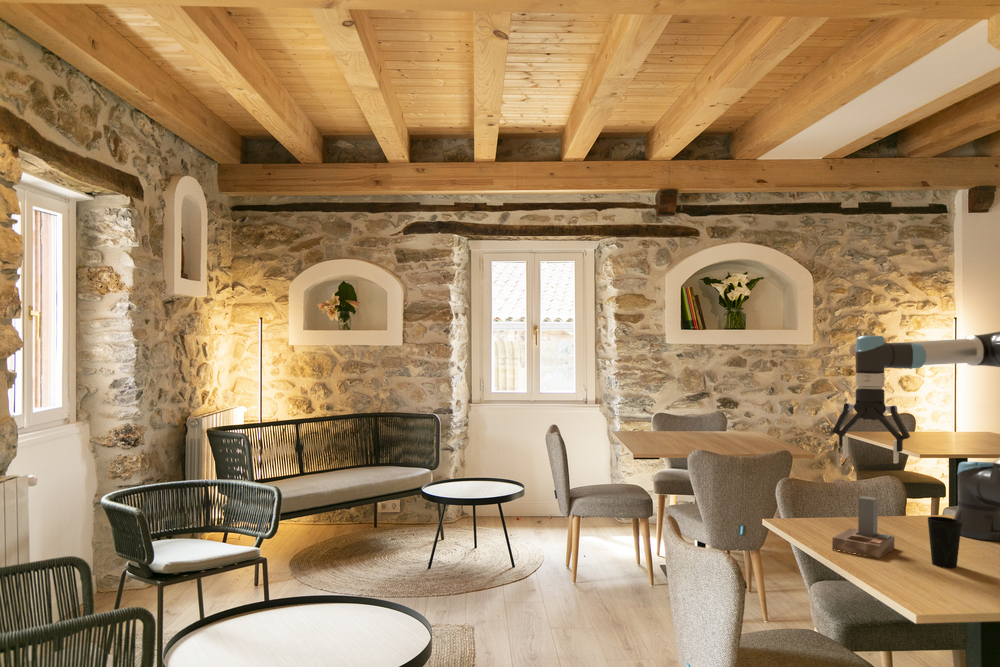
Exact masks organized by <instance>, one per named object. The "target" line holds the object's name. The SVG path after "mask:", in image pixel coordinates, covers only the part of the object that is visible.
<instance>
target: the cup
mask: <svg viewBox="0 0 1000 667" xmlns="http://www.w3.org/2000/svg"><path fill="white" fill-rule="evenodd" d="M961 524H962V522H961V521H959V520H957V519H954V518H952V517H947V516H929V517H927V527H928V535H929V536H928V537H929V546H930V556H931V557H930V558H931V564H932V565H934V566H935V565H936V567H939V568H943V567H945V568H944V569H956V567H958V566H957V565H958V559H959V558H958V557H959V550H960V540H961V535H960V533H961Z"/></svg>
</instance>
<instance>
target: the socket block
mask: <svg viewBox="0 0 1000 667" xmlns="http://www.w3.org/2000/svg"><path fill="white" fill-rule="evenodd" d="M831 545H832V546H831V548H832V549H835V550H840V551H839V552H841V551H845V552H844V553H846V552H850V553H849V554H851V553H856V554H861V555H866V556H870V557H869V558H871V557H875V558H874V559H877V558H880V557H881V558H883V557H884V556H885V555H887V554H888V553H890V552H891V551H892V550H894V549H895V535H891V534H885V533H880V532H879V533H878V532H877V537H876V538H874V537H868V536H862V535H858V528H857V529H856V528H851V527H850V528H848V529H846V530H844V531H842V532H840V533H838V534H836V535H835V536H833V537H832V544H831ZM893 548H894V549H893ZM832 549H831V550H832ZM891 549H892V550H891ZM835 550H834V551H835ZM890 550H891V551H890ZM889 551H890V552H889ZM887 552H888V553H887ZM886 553H887V554H886ZM856 554H855V555H856ZM884 554H885V555H884ZM861 555H860V556H861ZM883 555H884V556H883ZM866 556H865V557H866ZM882 556H883V557H882ZM881 558H880V559H881Z"/></svg>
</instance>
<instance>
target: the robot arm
mask: <svg viewBox="0 0 1000 667" xmlns="http://www.w3.org/2000/svg"><path fill="white" fill-rule="evenodd" d="M855 339H856V341H855V350H854V352H855V386H856V387H857V388H856V389H855V402H854V404H851V403H849V402H845V403H844V404H843V408H842V409H843V411H841V414H840V415H839V418H838V419H837V421H836V423H835V425H834V426H833V428H832V431H831V433H833V434H836V435H838V446H839V447H840V448H841V447H842V459H848V458H849V436H848V435H846V434H847V433H849V431H850V430H851V429H852V428H853V427H854V426H855V425H856V424H857V423H858V422H859V421H860V420H861V419H862V420H871V421H877V420H878V421H879V422H880V423H881V424H882V425H883V426H884V427H885V429H887V430H888V432H889V433H890V434H891V435H892V436H893V437H894V440H893V444H892V445H893V446H892V447H893V454H892V455H893V458H892V459H893V464H899V460H900V459H899V458H900V457H899V455H900V454H899V452H900V453H902V451H903V445H904V444H903V442H904V440H906V439H907V440H908V439H909V438H911V435H910V433H909V432H908V429H907V427H906V426H905V424H904V422H903V421H902V420H903V419H902V418H901V416H900V415H899V412H898V407H897V405H888V406H886V404H885V390H884V389H883V388H884V387H885V369H909V370H913V369H920V368H922V367H923V366H931V365H932V366H933V365H949V364H951V365H953V364H967V365H969V366H972V367H973V366H974V367H975V366H977V367H978V366H984V367H993V368H994V367H995V368H1000V331H994V332H990V333H984V334H975V335H974V334H973V335H968V336H966V337H965V338H962V339H960V338H959V339H942V340H941V339H939V340H922V341H921V340H920V341H903V342H886V341H885V338H884V336H882V335H859V336H858V337H856V338H855ZM853 409H854V410H855V412H856V414H855V415H854V416H853V418H851V420H850V421H849V422H848V423H846V425H845V426H844V427H843V424H844V423H845V421H846V419H847V418H848V415H849V414H850V412H851V411H853ZM886 411H887V412H888V413H889V414H891V416H892V419H893V421H894V422H895V424H896V426H897V428H898V430H899V431H898V430H897V429H896V427H894V425H893V424H892V423H891V422H890V421H889V420H888V419H887V417H886V416H885V415H884V413H885V412H886ZM842 427H843V428H842ZM841 428H842V429H841ZM956 474H957V509H956V511H955V514H954V516H953V519H957V520H959V521H961V522H962V524H961V533H960V537H966V538H970V539H976V540H983V541H996V542H998V541H999V542H1000V456H999V457H998V458H997V459H995V460H993V461H961V462H959V463H958V466H957V472H956Z"/></svg>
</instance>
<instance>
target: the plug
mask: <svg viewBox="0 0 1000 667" xmlns="http://www.w3.org/2000/svg"><path fill="white" fill-rule="evenodd" d="M878 501H879V500H878V497H871V496H865V495H862V496H860V497H858V518H857V519H858V528H857V530H858V535H862V536H868V537H874V538H876V537H877V533H878V511H879V510H878V504H879V503H878Z"/></svg>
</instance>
